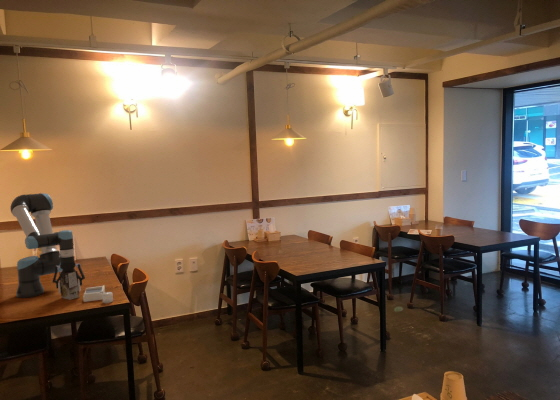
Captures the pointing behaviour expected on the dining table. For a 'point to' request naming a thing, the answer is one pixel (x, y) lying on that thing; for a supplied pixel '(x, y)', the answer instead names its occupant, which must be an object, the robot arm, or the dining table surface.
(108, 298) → the white rounded block
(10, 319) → the dining table surface
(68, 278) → the coffee box
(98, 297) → the white open box
